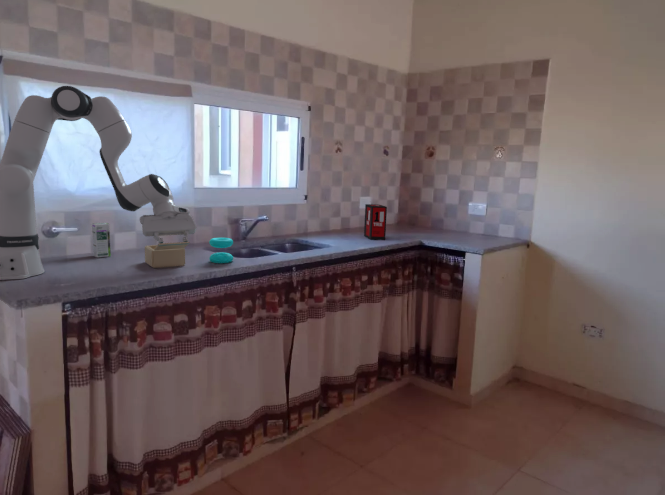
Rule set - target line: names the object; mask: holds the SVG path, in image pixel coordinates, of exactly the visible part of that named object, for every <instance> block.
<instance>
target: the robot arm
mask: <svg viewBox="0 0 665 495" xmlns="http://www.w3.org/2000/svg"><path fill="white" fill-rule="evenodd" d="M22 101H23V102H22V103H21V105H20V107H19V109H18V111H17V113H16V115H15V117H14V120H13V122H12V125H11V129H10V131H9V134H8V137H7V140H6V144H5V147H4V150H3V154H2V157H1V160H0V281H5V280H23V279H26V278H27V279H28V278H31V277H34V276H39V275H41V274H44V273H45V269H44V265H43V262H42V260H41V255H40V250H39V249H40V237H39V234H38V231H37V219H36V218H37V217H36V204H35V201H36V200H35V189H34V185H35V184H34V181H35V177H36V175H37V172H38V169H39V166H40V163H41V160H42V158H43V156H44V152H45V150H46V148H47V144H48V140H49V138H50V134H51V132H52V129H53V126H54V124H55V122H56V121H67V122H76V121H79V120H81V119H85V120H86V121H88V123H90V124H91V125H92V126H93V129H94V130H95V131H96V133H97V135H98V136H99V139H100V145H101V147H100V148H99V151H98V152H99V156H100V157H99V158H101V162H102V164H103V167H104V169H105V171H106V174H107V176H108V178H109V179H108V180H109V181H110V182H111V183H110V184H111V186H112V187H113V190H114V194H115V197H116V200H117V202H118V204H119V206H120V207H121V209H122V210H124V211H127V212H128V211H129V212H136V211H138V210H139V209H141V208H142V207H144V206H146V205H147V204H150V203H151V206H152V212H153V214H143V215H142V216H140V217H139V222H140V225H141V226H142V228H141V229H142V235H143V236H144V237H153V238H154V239H155V240H156V242H157V245H158V244H159V243H164V239H163V237H160V236H178V235H180V236H181V235H183V237H182V242H189V238H188V237H189V235H194V234H195V233H196V231H197V229H198V228H197V224H196V221H195V219H194V218H193V216H192V215H191V214H190V209H189V208H185V207H181V206H177V205H176V204H175V202H174V196H173V193H172V191H171V187H169V185H168V183H167V181H165V179H164V178H163V177H161V176H159V175H157V174H154V173H150V174H147V175H145V176H143V177H140V178H139V179H138V180H136V181H132V182H131V183H128V184H127V183H126V181H125V179H124V176H123V174H122V172H121V169H120V167H119V165H118V164H119V162H118V161H119V158H120V156H121V155H122V154H123V153H124V152H125V150H126V149H127V148H128V147H129V145H130V144H131V142H132V138H133V136H132V135H133V134H132V130H131V128H130V125H129V123H128V121H127V120H126V119H125V117H124V116H123V114H122V113H121V111H120V110H119V108H117V105H115V103H113V101H112V99H109V97H106V96H95V97H93V98H92V97H91V96H89V95H88V94H86V93H85V92H83V91H81V90H80V89H78V88H77V87H74V86H71V85H62V86H59V87H57V88H56V89H54V91H53V92H52V94H51V96H50V97H44V96H41V95H36V94H35V95H34V94H32V95H28V96H26V97H25V99H24V100H22Z"/></svg>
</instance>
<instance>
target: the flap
mask: <svg viewBox="0 0 665 495" xmlns="http://www.w3.org/2000/svg"><path fill="white" fill-rule="evenodd" d="M189 244H190V241H188V242H183V241H179V242H163V243H159V244H158V243H157V244H156V245H157V246H156V248H155V249H154V250H167V249H183V248H184V249H186V247H187V246H189Z"/></svg>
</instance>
